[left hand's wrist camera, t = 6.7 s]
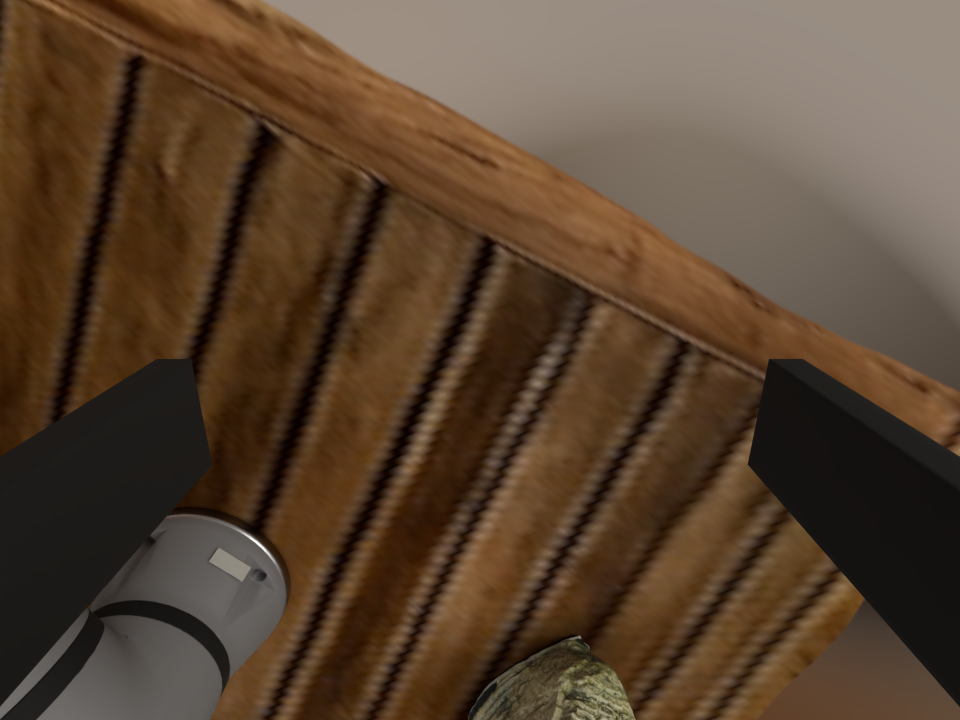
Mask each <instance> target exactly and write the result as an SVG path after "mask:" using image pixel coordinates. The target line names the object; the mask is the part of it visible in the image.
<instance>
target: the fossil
mask: <svg viewBox="0 0 960 720" xmlns="http://www.w3.org/2000/svg"><path fill="white" fill-rule="evenodd" d="M468 719H469V720H635V717H634V715H633V711H632V708H631V706H630V703H629V701H628V698H627V695H626V692H625V690H624V688H623V686H622V684H621V682H620V679H619V677H618V676H617V674H616V672H615V671H614V669H612V668H611V667H610V666H609V665H608V664H607V663H605V662H603V661H602V660H601V659H599V658H597V657H595V656H593V655H591V653H590V649H589V646H588V645H587V644H585V643H584V642H583V641H582V639H581V636H577V637H573V638H569V639H566V640H563V641H561V642H560V643H558V644H556V645H553V646H551V647H549V648H546V649H544V650H542V651H541V652H539V653H537V654H535V655H532V656H531V657H530V658H529V659H528V660H526V661H523V662H521V663H519V664H516V665H515V666H513V667H512V668H511V669H509V670H508V671H506V672H505V673H503V674H502V675H500V676H499V677H498V678H496V679H495V680H494V681H493V682H491V683H490V684H489V685H488V686H487V687H486V688H485V689H484V691H483V692H482V694H481V695H480V696H479V698H478V699H477V702H476V704H475V705H474V706H473V707H472V709H471V711H470V714H469V717H468Z"/></svg>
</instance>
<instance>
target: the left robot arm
mask: <svg viewBox="0 0 960 720" xmlns="http://www.w3.org/2000/svg"><path fill="white" fill-rule="evenodd" d="M211 465H212V461H211V456H210V451H209V446H208V441H207V436H206V431H205V427H204V422H203V417H202V412H201V407H200V402H199V397H198V392H197V387H196V382H195V377H194V372H193V367H192V362H191V359H157V360H155V361H153V362H152V363H150V364H149V365H147V366H145V367H144V368H142V369H140V370H139V371H137V372H136V373H134V374H132V375H131V376H129V377H128V378H126V379H124V380H123V381H121V382H120V383H118V384H116V385H115V386H113V387H112V388H110V389H108V390H107V391H105V392H103V393H102V394H100V395H99V396H97V397H95V398H94V399H92V400H91V401H89V402H87V403H86V404H84V405H83V406H81V407H79V408H78V409H76V410H75V411H73V412H71V413H70V414H68V415H67V416H65V417H63V418H62V419H60V420H58V421H57V422H55V423H54V424H52V425H50V426H49V427H47V428H46V429H44V430H42V431H41V432H39V433H38V434H36V435H34V436H33V437H31V438H30V439H28V440H26V441H25V442H23V443H22V444H20V445H18V446H17V447H15V448H13V449H12V450H10V451H9V452H7V453H5V454H4V455H2V456H1V457H0V720H210V718H211V716H212V714H213V712H214V710H215V708H216V706H217V703H218V701H219V699H220V697H221V695H222V693H223V691H224V689H225V686H226V684H227V682H228V680H229V679H230V678H231V677H232V676H233V674H234V673H235V672H236V671H237V670H238V669H239V668H240V667H241V666H242V665H243V664H244V663H245V662H246V661H247V660H248V658H249V657H250V656H251V655H252V654H253V653H254V652H255V651H256V650H257V649H258V648H259V647H260V646H261V645H262V644H263V642H264V641H265V640H266V639H267V638H268V637H269V636H270V635H271V633H272V632H273V630H274V629H275V627H276V626H277V624H278V623H279V621H280V619H281V617H282V615H283V613H284V610H285V608H286V606H287V603H288V600H289V596H290V577H289V572H288V569H287V566H286V564H285V562H284V560H283V558H282V556H281V554H280V553H279V551H278V550H277V549H276V547H275V546H274V545H273V544H272V543H271V542H270V540H269V539H267V538H266V537H265V536H264V535H263V534H262V533H261V532H259V531H258V530H257V529H255V528H254V527H252V526H251V525H249V524H247V523H246V522H244V521H242V520H240V519H238V518H235V517H233V516H230V515H228V514H225V513H221V512H218V511H213V510H208V509H200V508H180V509H174V508H175V506H176V505H177V504H178V503H179V502H180V501H181V500H182V498H183V497H184V496H185V495H186V494H187V493H188V492H189V490H190V489H191V488H192V487H193V486H194V485H195V484H196V482H197V481H198V480H199V479H200V478H201V477H202V476H203V474H204V473H205V472H206V471H207V470H208V469H209V468H210V466H211ZM748 465H749V466H750V468H751V469H752V470H753V471H754V472H755V473H756V474H757V476H758V477H759V478H760V479H761V480H762V481H763V482H764V484H765V485H766V486H767V487H768V488H769V489H770V490H771V492H772V493H773V494H774V495H775V496H776V497H777V498H778V500H779V501H780V502H781V503H782V504H783V505H784V506H785V508H786V509H787V510H788V511H789V512H790V513H791V514H792V516H793V517H794V518H795V519H796V520H797V521H798V522H799V524H800V525H801V526H802V527H803V528H804V529H805V530H806V532H807V533H808V534H809V535H810V536H811V537H812V538H813V540H814V541H815V542H816V543H817V544H818V545H819V546H820V548H821V549H822V550H823V551H824V552H825V553H826V554H827V556H828V557H829V558H830V559H831V560H832V561H833V562H834V564H835V565H836V566H837V567H838V568H839V569H840V570H841V572H842V573H843V574H844V575H845V576H846V577H847V578H848V580H849V581H850V582H851V583H852V584H853V585H854V586H855V588H856V589H857V590H858V591H859V592H860V593H861V594H862V596H863V597H864V598H865V599H866V600H867V601H868V602H869V603H870V605H871V606H872V607H873V608H874V609H875V610H876V612H877V613H878V614H879V615H880V616H881V617H882V618H883V620H884V621H885V622H886V623H887V624H888V625H889V626H890V628H891V629H892V630H893V631H894V632H895V633H896V634H897V636H898V637H899V638H900V639H901V640H902V641H903V642H904V644H905V645H906V646H907V647H908V648H909V649H910V650H911V652H912V653H913V654H914V655H915V656H916V657H917V658H918V660H919V661H920V662H921V663H922V664H923V665H924V666H925V668H926V669H927V670H928V671H929V672H930V673H931V674H932V676H933V677H934V678H935V679H936V680H937V681H938V683H939V684H940V685H941V686H942V687H943V688H944V689H945V690H946V692H947V693H948V694H949V695H950V696H951V697H952V699H953V700H954V701H955V702H956V703H957V704H958V705H959V706H960V457H959V456H958V455H956V454H955V453H953V452H951V451H950V450H948V449H947V448H945V447H943V446H942V445H940V444H938V443H937V442H935V441H934V440H932V439H930V438H929V437H927V436H926V435H924V434H922V433H921V432H919V431H918V430H916V429H914V428H913V427H911V426H910V425H908V424H906V423H905V422H903V421H902V420H900V419H898V418H897V417H895V416H893V415H892V414H890V413H889V412H887V411H885V410H884V409H882V408H881V407H879V406H877V405H876V404H874V403H873V402H871V401H869V400H868V399H866V398H865V397H863V396H861V395H860V394H858V393H857V392H855V391H853V390H852V389H850V388H848V387H847V386H845V385H844V384H842V383H840V382H839V381H837V380H836V379H834V378H832V377H831V376H829V375H828V374H826V373H824V372H823V371H821V370H820V369H818V368H816V367H815V366H813V365H811V364H810V363H808V362H807V361H805V360H803V359H769V362H768V367H767V372H766V377H765V382H764V387H763V392H762V397H761V402H760V407H759V412H758V417H757V422H756V427H755V431H754V436H753V441H752V446H751V451H750V456H749V461H748ZM93 600H94V602H93V604H92V607H91V609H90V610H89V609H88V606H89V605H90V604H91V602H92V601H93Z"/></svg>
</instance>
